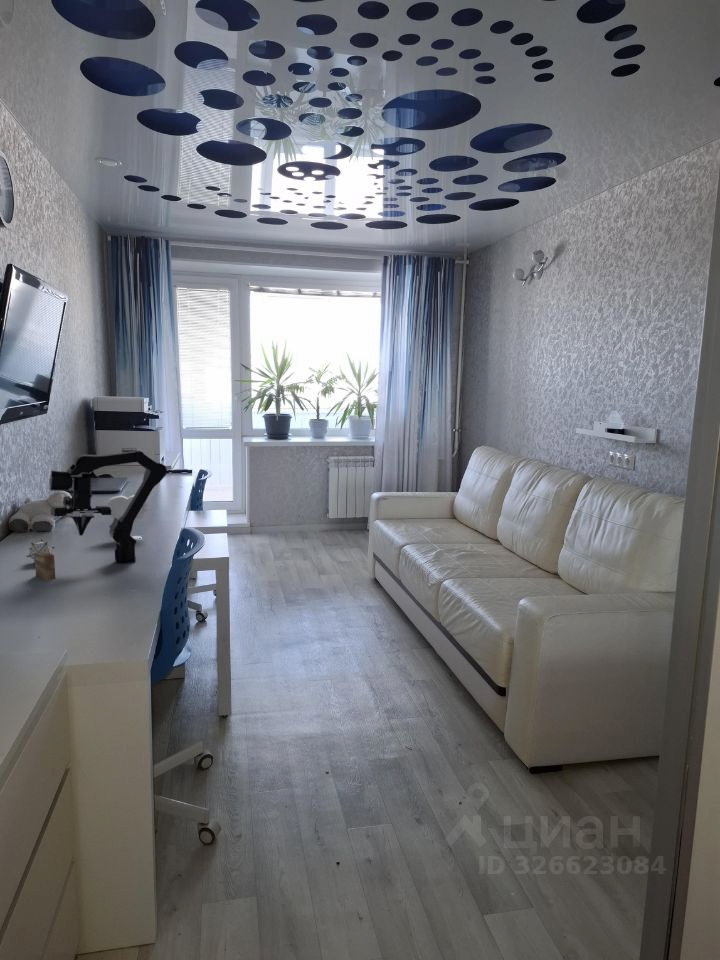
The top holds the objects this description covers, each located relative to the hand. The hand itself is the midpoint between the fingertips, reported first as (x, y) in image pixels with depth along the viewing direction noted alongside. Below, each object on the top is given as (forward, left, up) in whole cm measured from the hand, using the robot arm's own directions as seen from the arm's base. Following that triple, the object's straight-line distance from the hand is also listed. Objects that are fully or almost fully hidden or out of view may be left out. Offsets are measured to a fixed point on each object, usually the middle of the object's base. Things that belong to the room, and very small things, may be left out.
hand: (80, 535), depth 224 cm
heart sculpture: (-14, -40, -12) cm, 44 cm away
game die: (+15, -11, -12) cm, 22 cm away
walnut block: (+11, +8, -12) cm, 18 cm away
